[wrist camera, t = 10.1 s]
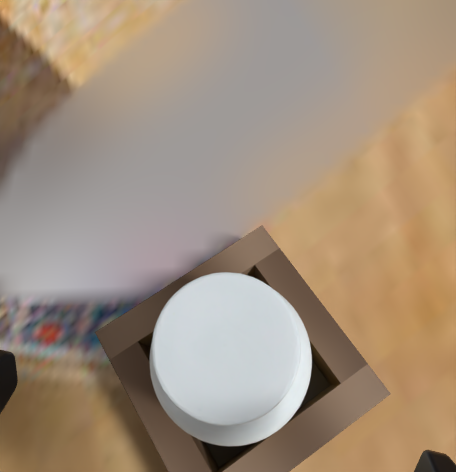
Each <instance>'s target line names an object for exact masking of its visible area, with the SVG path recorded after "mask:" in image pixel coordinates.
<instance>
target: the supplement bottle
mask: <svg viewBox="0 0 456 472" xmlns="http://www.w3.org/2000/svg"><path fill="white" fill-rule="evenodd" d="M311 369H312V354H311V346H310V341H309V338H308V334H307V331H306V329H305V326H304V324H303V322H302V320H301V318H300V317H299V315H298V313H297V312H296V311H295V309H294V308H293V307H292V305H291V304H290V303H289V302H288V301H287V300H286V299H285V298H284V297H283V296H282V295H280V294H279V293H278V292H277V291H275V290H274V289H272V288H271V287H270V286H268V285H267V284H265V283H264V282H262V281H260V280H258V279H256V278H254V277H251V276H247V275H244V274H241V273H231V272H222V273H212V274H209V275H205V276H201V277H199V278H197V279H195V280H193V281H191V282H189V283H187V284H186V285H185V286H183V287H182V288H181V289H179V290H178V291H177V292H176V293H175V294H174V295H173V296H172V297H171V298H170V299H169V300H168V302H167V303H166V305H165V306H164V308H163V310H162V311H161V313H160V315H159V317H158V320H157V322H156V325H155V328H154V332H153V339H152V343H151V349H150V373H151V380H152V384H153V387H154V390H155V393H156V395H157V398H158V400H159V402H160V404H161V406H162V407H163V409H164V410H165V412H166V413H167V414H168V416H169V417H170V418H171V419H172V420H173V421H174V423H176V424H177V425H178V426H179V427H180V428H181V429H182V430H184V431H185V432H186V433H188V434H190V435H192V436H193V437H195V438H197V439H199V440H201V441H204V442H207V443H210V444H215V445H220V446H242V445H247V444H251V443H255V442H258V441H260V440H263V439H265V438H267V437H269V436H270V435H272V434H274V433H275V432H277V431H278V430H279V429H281V428H282V427H283V426H284V425H285V424H286V423H287V422H288V421H289V420H290V419H291V418H292V417H293V415H294V414H295V412H296V411H297V410H298V408H299V407H300V405H301V403H302V401H303V399H304V397H305V395H306V392H307V389H308V386H309V382H310V377H311Z"/></svg>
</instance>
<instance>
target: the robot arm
mask: <svg viewBox="0 0 456 472" xmlns="http://www.w3.org/2000/svg"><path fill="white" fill-rule="evenodd" d="M16 386H17V371H16V362H15V356H14V355H13V353H11V352H8V351H3V350H0V413H1V412H2V410H3V409H4V407H5V405H6V404H7V402H8V401H9V399H10V397H11V396H12V394H13V392H14V391H15V388H16ZM414 472H456V464H455V463H454V462H453V461H452V460H451V458H450V457H449V456H447V455H446V454H443V453H439V452H435V451H431V450H425V451H424V452H423V453H422V455H421V457H420V459H419V462H418V464H417V466H416V468H415V471H414Z"/></svg>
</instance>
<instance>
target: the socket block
mask: <svg viewBox="0 0 456 472" xmlns="http://www.w3.org/2000/svg"><path fill="white" fill-rule="evenodd" d="M222 272H231V273H241V274H244V275H247V276H251V277H254V278H256V279H258V280H260V281H262V282H264V283H265V284H267V285H268V286H270V287H271V288H272V289H274V290H275V291H277V292H278V293H279V294H280V295H282V296H283V297H284V298H285V299H286V300H287V301H288V302H289V303H290V304H291V305H292V307H293V308H294V309H295V311H296V312H297V313H298V315H299V317H300V318H301V320H302V322H303V324H304V326H305V329H306V331H307V334H308V338H309V341H310V346H311V354H312V369H311V377H310V382H309V386H308V389H307V392H306V395H305V397H304V399H303V401H302V403H301V405H300V407H299V408H298V410H297V411H296V412H295V414H294V415H293V417H292V418H291V419H290V420H289V421H288V422H287V423H286V424H285V425H284V426H283V427H282V428H281V429H279V430H278V431H277V432H275V433H274V434H272V435H270V436H269V437H267V438H265V439H263V440H260V441H258V442H255V443H251V444H247V445H242V446H220V445H215V444H210V443H207V442H204V441H201V440H199V439H197V438H195V437H193V436H192V435H190V434H188V433H186V432H185V431H184V430H182V429H181V428H180V427H179V426H178V425H177V424H176V423H174V421H173V420H172V419H171V418H170V417H169V416H168V414H167V413H166V412H165V410H164V409H163V407H162V406H161V404H160V402H159V400H158V398H157V395H156V393H155V390H154V387H153V384H152V380H151V373H150V349H151V343H152V339H153V332H154V328H155V325H156V322H157V320H158V317H159V315H160V313H161V311H162V310H163V308H164V306H165V305H166V303H167V302H168V300H169V299H170V298H171V297H172V296H173V295H174V294H175V293H176V292H177V291H178V290H179V289H181V288H182V287H183V286H185V285H186V284H187V283H189V282H191V281H193V280H195V279H197V278H199V277H201V276H205V275H209V274H212V273H222ZM95 333H96V335H97V337H98V339H99V341H100V343H101V345H102V347H103V349H104V350H105V352H106V354H107V356H108V358H109V360H110V362H111V364H112V366H113V368H114V369H115V371H116V373H117V375H118V377H119V379H120V381H121V383H122V385H123V386H124V388H125V390H126V392H127V394H128V396H129V398H130V400H131V402H132V404H133V405H134V407H135V409H136V411H137V413H138V415H139V417H140V419H141V421H142V422H143V424H144V426H145V428H146V430H147V432H148V434H149V436H150V438H151V440H152V441H153V443H154V445H155V447H156V449H157V451H158V453H159V455H160V457H161V458H162V460H163V462H164V464H165V466H166V468H167V470H168V472H289V471H291V470H292V469H293V468H295V467H296V466H297V465H299V464H300V463H301V462H302V461H304V460H305V459H306V458H308V457H309V456H310V455H312V454H313V453H314V452H315V451H317V450H318V449H319V448H321V447H322V446H323V445H325V444H326V443H327V442H329V441H330V440H331V439H332V438H334V437H335V436H336V435H338V434H339V433H340V432H342V431H343V430H344V429H346V428H347V427H348V426H349V425H351V424H352V423H353V422H355V421H356V420H357V419H359V418H360V417H361V416H362V415H364V414H365V413H366V412H368V411H369V410H370V409H372V408H373V407H374V406H376V405H377V404H378V403H379V402H381V401H382V400H383V399H385V398H386V397H387V396H389V395H390V392H389V391H388V390H387V388H386V387H385V386H384V385H383V383H382V382H381V381H380V379H379V378H378V377H377V375H376V374H375V373H374V371H373V370H372V369H371V367H370V366H369V365H368V364H367V362H366V361H365V360H364V358H363V357H362V356H361V354H360V353H359V352H358V350H357V349H356V348H355V346H354V345H353V344H352V343H351V341H350V340H349V339H348V337H347V336H346V335H345V333H344V332H343V331H342V329H341V328H340V327H339V326H338V324H337V323H336V322H335V320H334V319H333V318H332V316H331V315H330V314H329V312H328V311H327V310H326V308H325V307H324V306H323V305H322V303H321V302H320V301H319V299H318V298H317V297H316V295H315V294H314V293H313V291H312V290H311V289H310V287H309V286H308V285H307V284H306V282H305V281H304V280H303V278H302V277H301V276H300V274H299V273H298V272H297V270H296V269H295V268H294V266H293V265H292V264H291V263H290V261H289V260H288V259H287V257H286V256H285V255H284V253H283V252H282V251H281V249H280V248H279V247H278V246H277V244H276V243H275V242H274V240H273V239H272V238H271V236H270V235H269V234H268V232H267V231H266V230H265V228H264V227H263V226H260V227H259V228H257V229H256V230H254V231H252V232H251V233H249V234H248V235H246V236H245V237H243V238H242V239H240V240H238V241H237V242H235V243H234V244H232V245H231V246H229V247H227V248H226V249H224V250H223V251H221V252H220V253H218V254H217V255H215V256H213V257H212V258H210V259H209V260H207V261H206V262H204V263H203V264H201V265H199V266H198V267H196V268H195V269H193V270H192V271H190V272H188V273H187V274H185V275H184V276H182V277H181V278H179V279H178V280H176V281H174V282H173V283H171V284H170V285H168V286H167V287H165V288H164V289H162V290H160V291H159V292H157V293H156V294H154V295H153V296H151V297H149V298H148V299H146V300H145V301H143V302H142V303H140V304H139V305H137V306H135V307H134V308H132V309H131V310H129V311H128V312H126V313H125V314H123V315H121V316H120V317H118V318H117V319H115V320H114V321H112V322H110V323H109V324H107V325H106V326H104V327H103V328H101V329H100V330H98V331H96V332H95Z"/></svg>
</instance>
